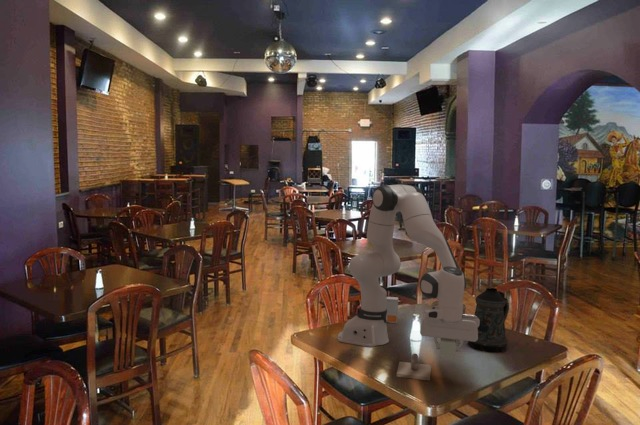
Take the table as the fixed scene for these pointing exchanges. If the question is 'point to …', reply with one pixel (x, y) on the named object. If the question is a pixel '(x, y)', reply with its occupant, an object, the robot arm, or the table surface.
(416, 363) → the post stand
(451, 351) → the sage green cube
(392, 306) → the skincare box
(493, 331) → the beer stein
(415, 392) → the table surface
